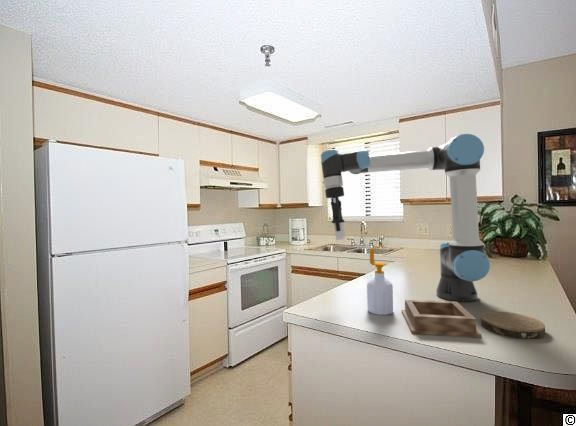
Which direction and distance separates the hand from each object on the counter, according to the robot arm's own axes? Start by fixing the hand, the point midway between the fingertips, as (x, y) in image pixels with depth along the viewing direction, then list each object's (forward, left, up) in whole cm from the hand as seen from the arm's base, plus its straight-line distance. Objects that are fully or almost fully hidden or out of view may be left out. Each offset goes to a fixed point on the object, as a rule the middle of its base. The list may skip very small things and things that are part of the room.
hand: (340, 238), depth 124 cm
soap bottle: (-14, +9, -26) cm, 31 cm away
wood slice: (-52, +20, -27) cm, 62 cm away
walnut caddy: (-31, +19, -26) cm, 45 cm away
